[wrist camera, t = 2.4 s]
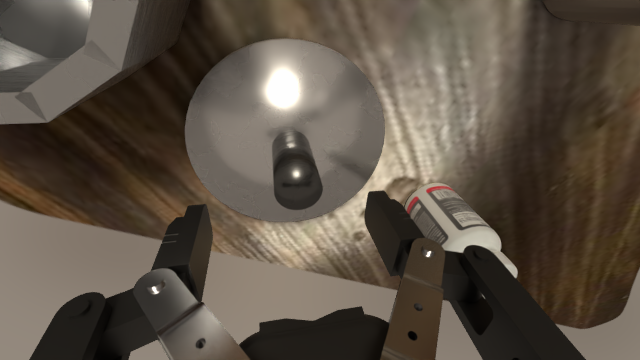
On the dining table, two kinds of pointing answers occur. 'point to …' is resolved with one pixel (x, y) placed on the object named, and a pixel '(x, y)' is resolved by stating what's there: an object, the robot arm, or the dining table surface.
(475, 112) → the dining table surface
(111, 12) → the pot
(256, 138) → the lid
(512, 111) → the dining table surface
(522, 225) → the dining table surface
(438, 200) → the pill bottle
